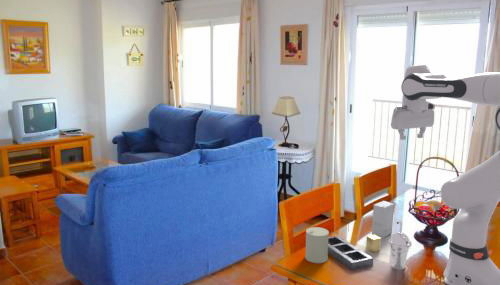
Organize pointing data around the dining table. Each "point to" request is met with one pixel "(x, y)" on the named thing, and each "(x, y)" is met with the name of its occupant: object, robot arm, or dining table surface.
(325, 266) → the dining table surface
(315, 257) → the can
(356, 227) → the dining table surface
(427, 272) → the dining table surface
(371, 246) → the pale yellow upright block
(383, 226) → the skincare box
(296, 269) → the dining table surface
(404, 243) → the cup with straw
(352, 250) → the grey compartment tray
